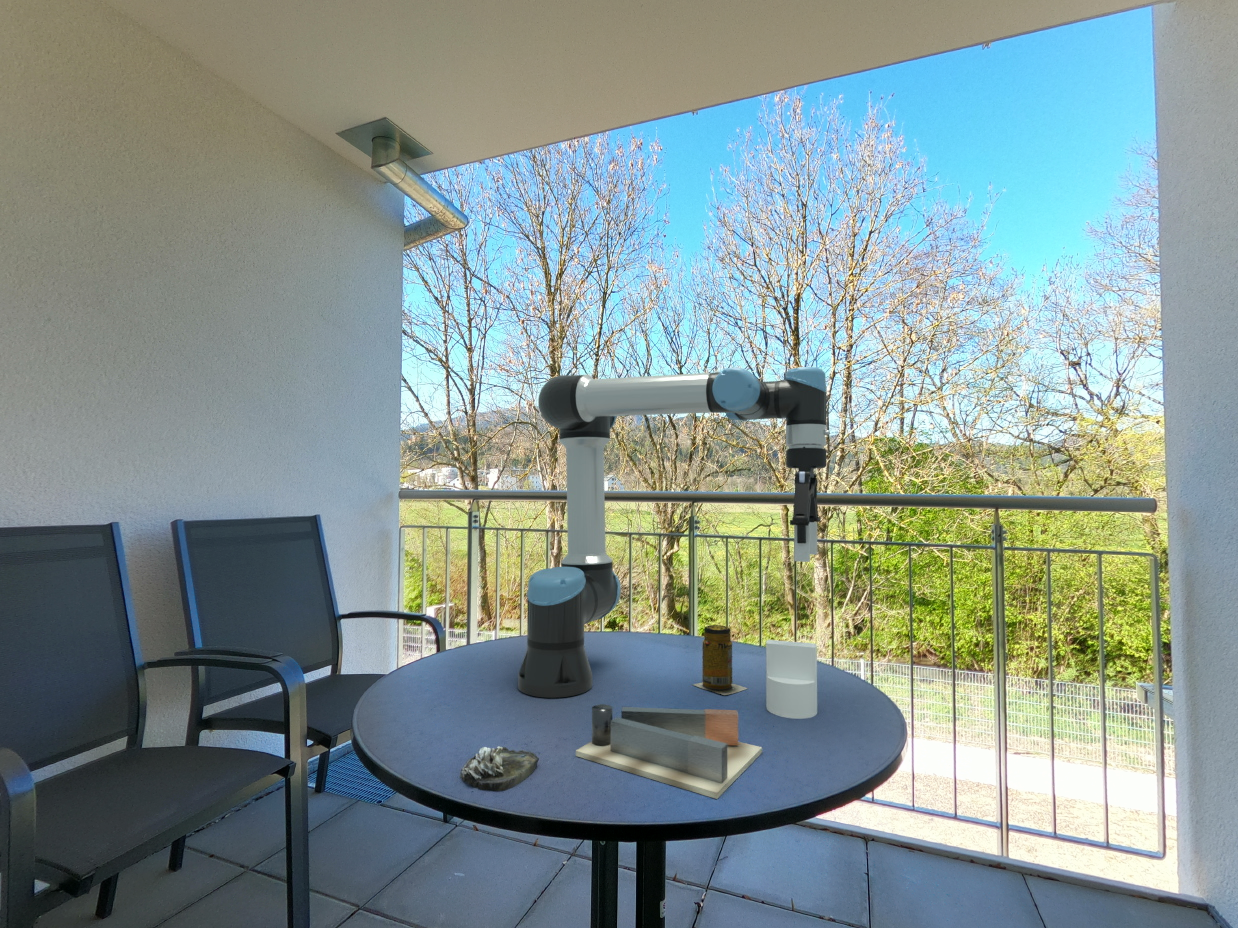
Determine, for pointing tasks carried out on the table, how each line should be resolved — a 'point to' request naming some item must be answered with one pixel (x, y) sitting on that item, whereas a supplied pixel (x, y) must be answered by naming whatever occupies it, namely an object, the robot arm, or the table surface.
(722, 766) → the tongs fixed
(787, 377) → the robot arm
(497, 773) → the log
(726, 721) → the tong arm
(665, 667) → the table surface
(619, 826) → the table surface
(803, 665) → the base with upright slab
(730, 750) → the board
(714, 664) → the condiment
